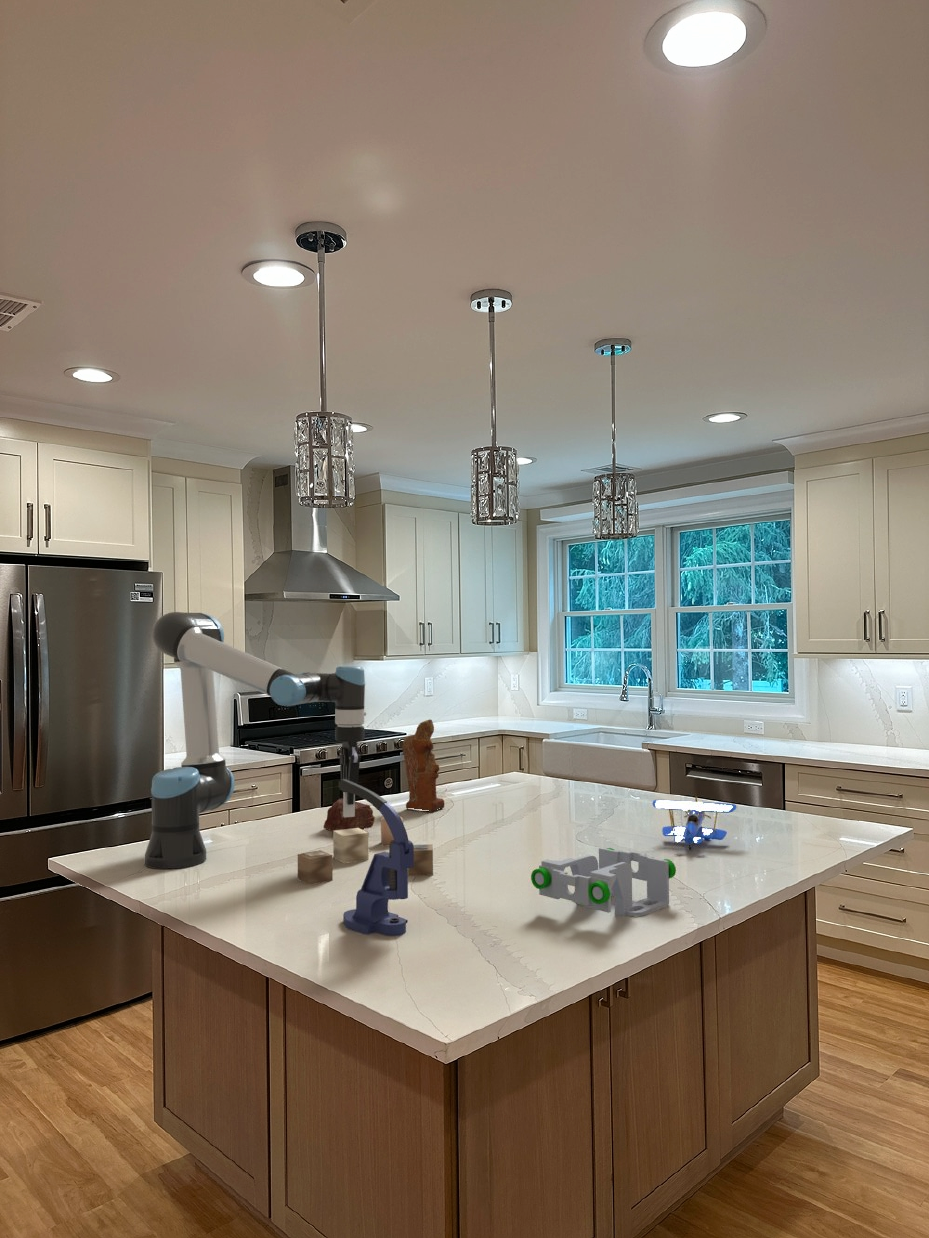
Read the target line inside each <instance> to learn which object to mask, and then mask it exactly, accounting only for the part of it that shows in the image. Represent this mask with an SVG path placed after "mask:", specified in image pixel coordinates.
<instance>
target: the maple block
mask: <svg viewBox="0 0 929 1238" xmlns="http://www.w3.org/2000/svg"><path fill="white" fill-rule="evenodd" d="M332 832H333V835H332V837H333V840H332V842H333V854H332V858H334V859H335V860H337V861H338V862H340V863H341V862H342V864H348V863H347V862H349V863H355V862H354V861H357V862H363V861H364V862H365V861H369V832H368V831H365V829H364V830H362V829H360V828H353V829H344V830H336V831H332Z"/></svg>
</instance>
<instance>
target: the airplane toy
mask: <svg viewBox="0 0 929 1238" xmlns="http://www.w3.org/2000/svg"><path fill="white" fill-rule="evenodd" d="M694 798H695V801H689V800H673V799H654V800H653V801H652V806H653V807H654V808H655V809H658V810H668V814H669V820H670V825H669V826H663V827H662V829H661V831H662V835H663V836H664V837H673V841H674V842H675V843H678V844H679V843H681V842H683V841H684V843H685V844H687V845H688V851H692V849H693V847H692V844H696V845H699V844H702V843H703V840H704V841H705V840H706V842H708V841H710V840H715V841H716V840H717V841H722V840H724V839H725V838H726V836H727V834H728V833H727V831H726V830H724V829H719V828H716V827H717V821H718V820H717V819H718V813H722V814H723V813H724V814H729V813H733V812H734V811H736V809H737V807H738V806H737V804H734V803H728V802H727V803H726V802H706V801H705V802H704V801H698V796H695V797H694ZM674 811H682V812H685V815H684V816H683V818H686V824H685V825H675V819H674ZM705 813H715V817H714V825H713V827H712V828H711V827H706V826H705V827H704V826H702V825H703V823H704V820H705V817H706V818H708V819H710V820H712V817H711V816H710V815H707V814H705Z"/></svg>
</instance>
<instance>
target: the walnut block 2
mask: <svg viewBox="0 0 929 1238" xmlns="http://www.w3.org/2000/svg"><path fill="white" fill-rule="evenodd" d="M413 846H414V867H412V868H408V877H409V876H411V877H413V876H434V862H433V861H434V849H433V847H434V846H433V844H430V843H429V844H428V843H427V844H413Z"/></svg>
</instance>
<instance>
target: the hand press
mask: <svg viewBox="0 0 929 1238" xmlns="http://www.w3.org/2000/svg"><path fill="white" fill-rule="evenodd" d="M338 788H339V790H340V791H342V792H343V791H345V792H348V793H352V794H355V796H358V797H360V798H361V799H363V800H365V801H367V802H368V803H370V805H372V806H373V807H374V808H375V809H376V810H377V811H379V813H380V814H381V815H382V817H384V819H385V820H386V822H387V824H388V826H389V828H390V831H391V833H392V836H393V838H394V840H391V841H390V843H389V846H388V848H389V849H388V851H389V852H388V851H382V852H377V853H374V854H373V857H372V859H371V862H370V865H369V867H368V870H367V872H366V875H365V877H364V879H363V884H362V885H361V888H360V889H359V890H358V891H357V893H356V895H355V896H356V898H355V899H356V900H355V901H356V903H355V904H356V905H355V906H356V907H355V908H353V909H350V910H346V911H344V912H343V913H342V915H343V917H342V919H343V925H344V927H345V928H346V929H348V930H350V931H353V932H357V933H360V934H362V935H367V936H368V935H371V934H375V933H376V934H379V935H383V936H386V937H398V936H403V935H404V934H406V933H407V924H408V922H409V921H408V919H407V918H405V917H400V916H399V914H397V913H393V912H390V911H389V910H388V909H389V901H390V900H393V901H394V900H395V901H396V900H406V899H409V881H408V880H409V879H408V878H409V876H408V868H412V867H414V846H413V845H414V843H413V841H411V840H409V838H408V833H407V829H406V827H405V825H404V822H402V820H401V818H400V817H401V816H400V815H399V813H398V812H397V811H396V810H395V808H394V807H393V806H392V805H390V804H389V802H388V801H387V800H386V799H384V798H383V797H382V796H380V795H379V794H378V793H376V792H374V791H372V790H371V789H368V788H366V787H365V786H363V785H360V784H359V783H358V784H356V783H354V782H351V781H349V780H347V779H341V778H340V779H339V780H338Z"/></svg>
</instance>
